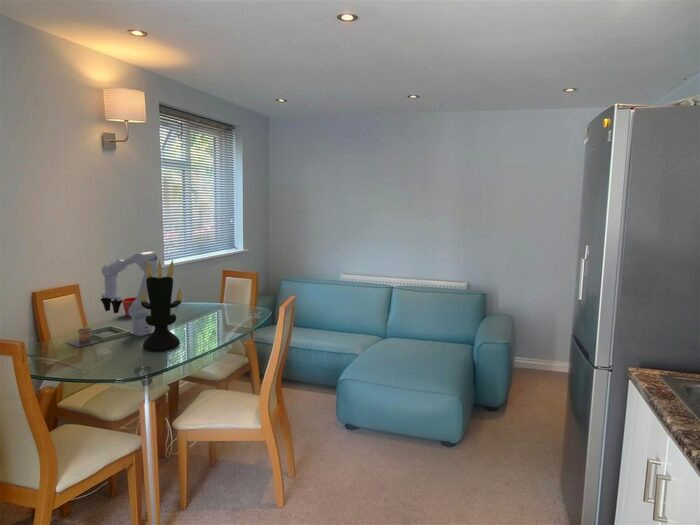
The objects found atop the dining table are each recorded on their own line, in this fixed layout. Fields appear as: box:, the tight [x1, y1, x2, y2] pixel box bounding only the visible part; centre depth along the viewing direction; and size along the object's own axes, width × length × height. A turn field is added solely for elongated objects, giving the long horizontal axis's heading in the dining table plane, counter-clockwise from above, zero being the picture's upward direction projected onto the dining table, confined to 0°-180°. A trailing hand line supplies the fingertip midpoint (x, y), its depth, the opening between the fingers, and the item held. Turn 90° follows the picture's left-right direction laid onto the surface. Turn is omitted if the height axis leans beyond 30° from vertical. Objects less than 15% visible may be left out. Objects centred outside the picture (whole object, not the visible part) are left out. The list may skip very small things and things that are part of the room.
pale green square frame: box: [90, 325, 132, 342], centre depth 251 cm, size 17×15×2 cm
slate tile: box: [66, 338, 102, 349], centre depth 238 cm, size 11×11×1 cm
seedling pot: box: [77, 327, 92, 343], centre depth 238 cm, size 6×6×6 cm
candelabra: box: [141, 258, 183, 353], centre depth 230 cm, size 19×22×45 cm
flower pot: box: [121, 296, 137, 317], centre depth 291 cm, size 11×11×10 cm
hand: (111, 311), depth 261 cm, fingers open, 7 cm apart
